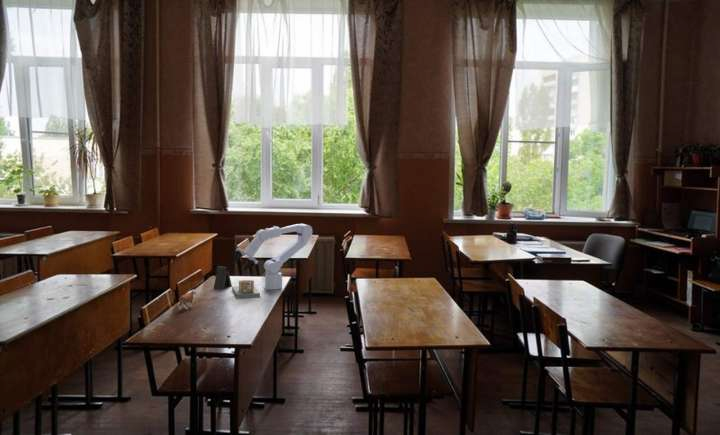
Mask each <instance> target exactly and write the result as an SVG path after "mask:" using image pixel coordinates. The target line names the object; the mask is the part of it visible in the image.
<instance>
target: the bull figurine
mask: <svg viewBox="0 0 720 435" xmlns="http://www.w3.org/2000/svg"><path fill="white" fill-rule="evenodd" d="M195 296H198V292H197V291H196V290H195V289H192V290H191V289H190V290H189V291H188V292H185V294H182V295H181V296H179V298H178V301H179V306H178V307H179V308H178V309H179V311H182V306H183V308H184V309H185V310H189V308H192V307H193V306H192V303H193V299H194V297H195ZM188 307H189V308H188Z"/></svg>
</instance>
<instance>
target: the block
mask: <svg viewBox="0 0 720 435" xmlns="http://www.w3.org/2000/svg"><path fill="white" fill-rule="evenodd" d="M242 291H243V292H250V291H251V282H250V283H242Z"/></svg>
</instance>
